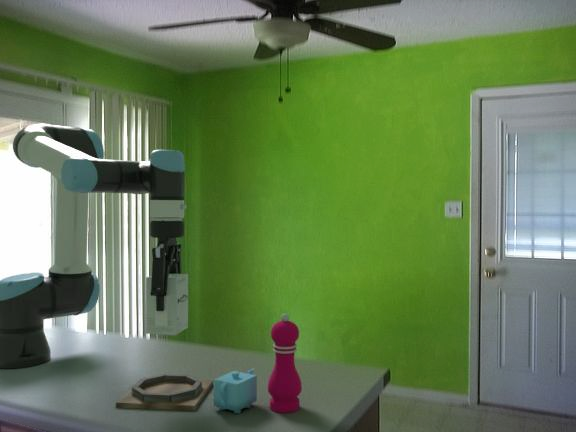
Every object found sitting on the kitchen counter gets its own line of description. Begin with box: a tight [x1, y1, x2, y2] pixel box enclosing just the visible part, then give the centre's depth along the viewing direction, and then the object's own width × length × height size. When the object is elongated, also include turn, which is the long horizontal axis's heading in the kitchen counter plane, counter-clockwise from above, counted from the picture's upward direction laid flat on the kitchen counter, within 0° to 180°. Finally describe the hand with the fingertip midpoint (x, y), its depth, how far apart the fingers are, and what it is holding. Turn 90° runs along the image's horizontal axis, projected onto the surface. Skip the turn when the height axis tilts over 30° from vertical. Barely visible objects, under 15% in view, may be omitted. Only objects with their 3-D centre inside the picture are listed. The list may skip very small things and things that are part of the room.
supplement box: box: [145, 273, 189, 336], centre depth 124 cm, size 7×7×13 cm
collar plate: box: [115, 373, 214, 411], centre depth 125 cm, size 17×17×2 cm
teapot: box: [213, 367, 258, 414], centre depth 118 cm, size 12×6×8 cm, turn 149°
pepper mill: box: [267, 313, 303, 414], centre depth 117 cm, size 7×7×20 cm
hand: (167, 321), depth 124 cm, fingers closed on supplement box, 8 cm apart
